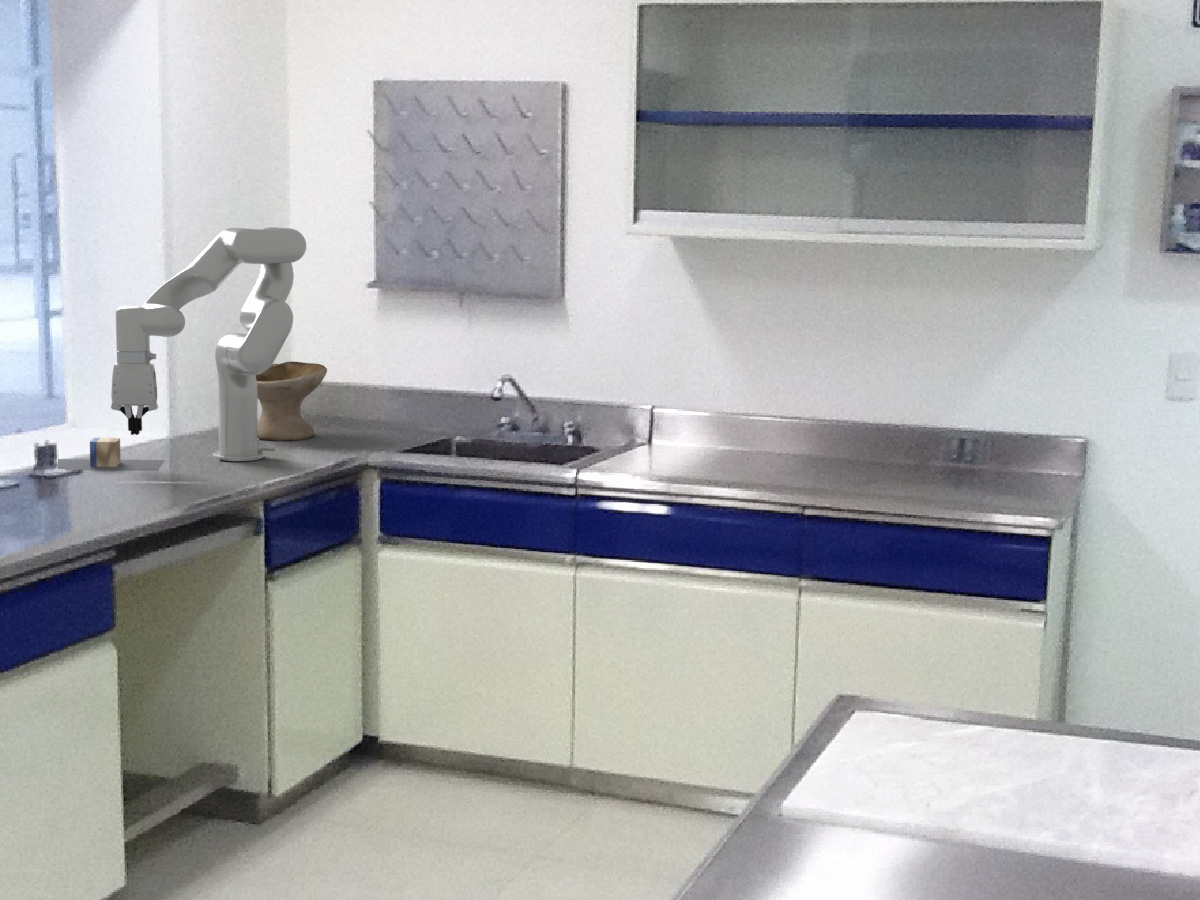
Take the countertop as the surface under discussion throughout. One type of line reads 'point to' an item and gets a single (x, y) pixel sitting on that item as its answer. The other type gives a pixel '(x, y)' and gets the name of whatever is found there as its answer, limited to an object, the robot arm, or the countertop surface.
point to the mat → (124, 465)
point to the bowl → (286, 399)
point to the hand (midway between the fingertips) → (135, 433)
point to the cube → (104, 452)
